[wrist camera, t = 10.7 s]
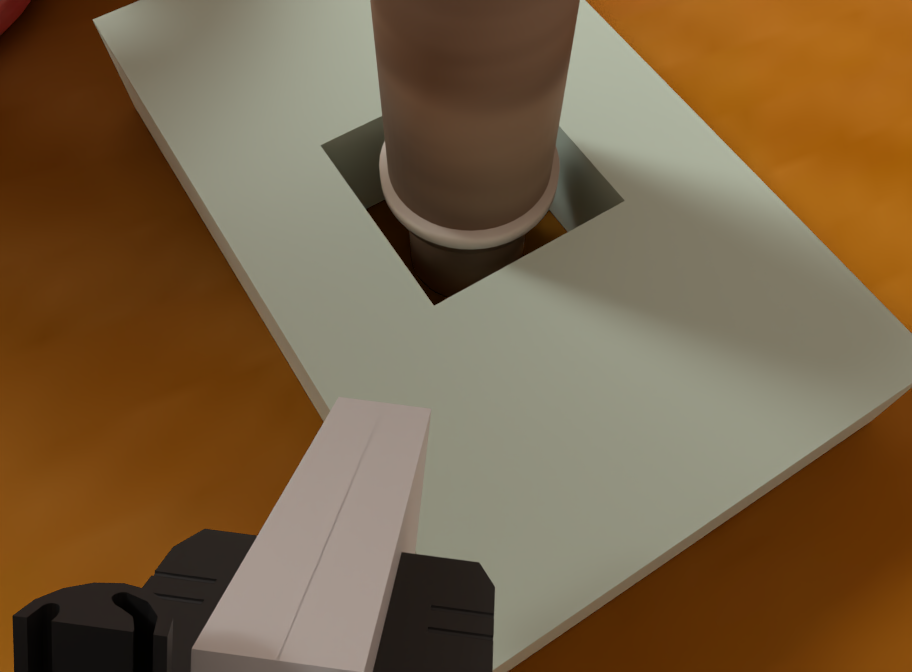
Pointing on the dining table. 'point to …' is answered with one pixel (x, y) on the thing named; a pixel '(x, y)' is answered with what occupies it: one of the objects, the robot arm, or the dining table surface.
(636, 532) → the board
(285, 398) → the dining table surface
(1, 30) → the plant pot
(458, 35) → the peg
